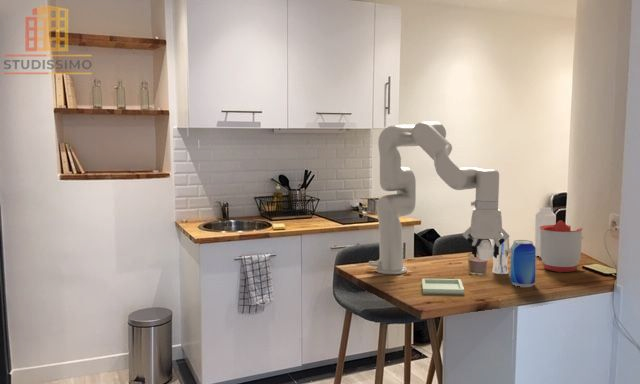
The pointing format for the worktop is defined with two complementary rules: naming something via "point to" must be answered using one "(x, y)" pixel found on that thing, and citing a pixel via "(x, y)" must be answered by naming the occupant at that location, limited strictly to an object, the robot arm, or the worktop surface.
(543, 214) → the milk
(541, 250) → the citrus juicer
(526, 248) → the beer can
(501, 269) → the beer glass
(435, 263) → the worktop surface
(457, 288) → the tray
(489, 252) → the white round lump
